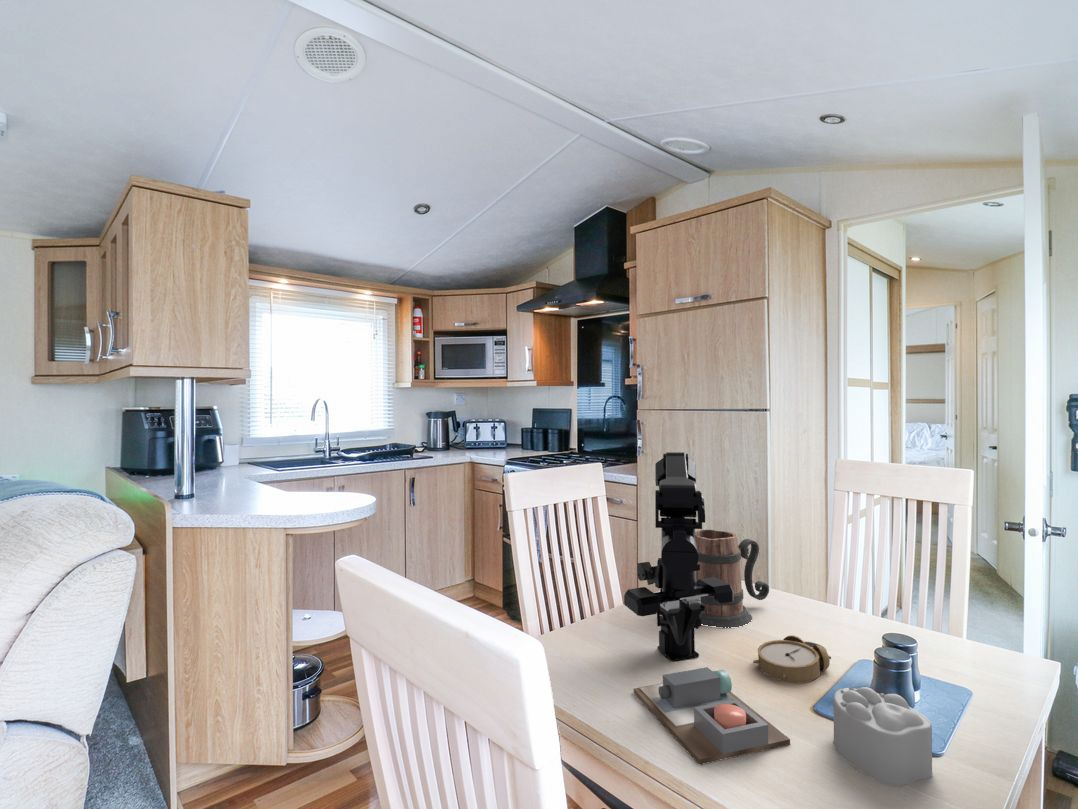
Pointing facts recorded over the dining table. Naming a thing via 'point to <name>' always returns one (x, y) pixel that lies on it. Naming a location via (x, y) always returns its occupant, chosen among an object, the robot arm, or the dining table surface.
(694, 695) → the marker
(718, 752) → the picture frame
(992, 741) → the dining table surface
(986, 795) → the dining table surface
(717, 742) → the button housing
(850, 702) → the lumpy-topped squat cylinder
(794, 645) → the alarm clock
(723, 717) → the button
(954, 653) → the dining table surface
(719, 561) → the tankard
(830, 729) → the dining table surface
